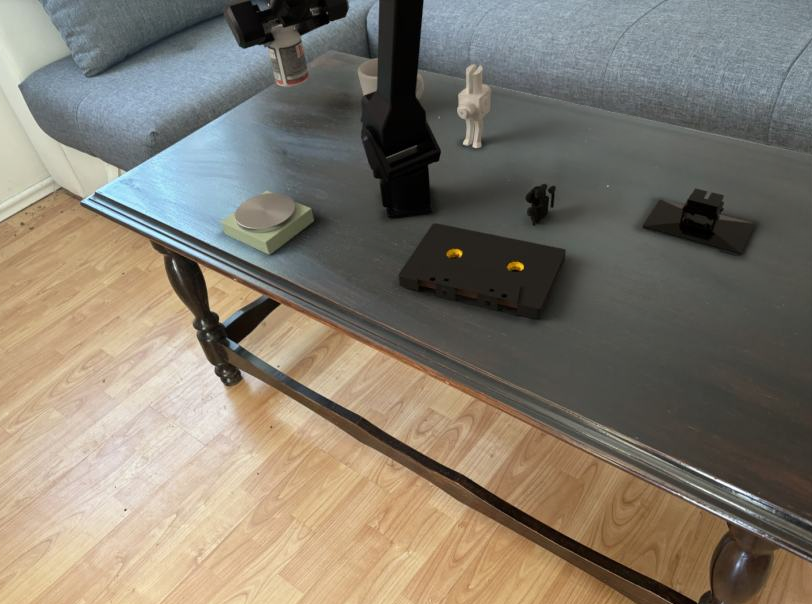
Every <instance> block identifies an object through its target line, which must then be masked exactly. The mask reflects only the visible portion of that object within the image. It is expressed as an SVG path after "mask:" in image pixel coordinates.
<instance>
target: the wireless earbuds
mask: <svg viewBox="0 0 812 604" xmlns="http://www.w3.org/2000/svg"><path fill="white" fill-rule="evenodd" d="M556 191H557V187H556V185H551V186H549V187H548V184H547V183H542V184H540V185H535V186H534V187H532V189H531V190H529V191H528V193H526V195H525V201H526V202H527V203H528V204H530V205H531V206H528V207H527V210H526V214H527V217H530V221H531V222H532V223H531V226H532V227H536V224H539V223H541V222H542V221H543V219H545V218H546V216H548V213H549V206H550V208H551V209H554V208H555V198H556V197H555V196H556V194H555V193H556ZM547 192H548V193H549V194H550V196H548V195H547Z"/></svg>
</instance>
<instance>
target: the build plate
mask: <svg viewBox="0 0 812 604" xmlns="http://www.w3.org/2000/svg"><path fill="white" fill-rule="evenodd" d="M707 194H708V190H705V189H700V188H694V189H693V191H692V193H691V194H690V195H689V196H688V198H687V199H686V202H684V204H680V203H676V202H673V201H670V200H666V199H659V200H658V201H657V202H656V204H655V205H654V207H653V208H652V210H651V212H650V213H649V215H648V216H647V218H646V219H645V221H644V223H643V224H642V226H641V228H642V229H643V230H647V231H650V232H654V233H657V234H661V235H664V236H668V237H672V238H675V239H679V240H683V241H686V242H690V243H693V244H696V245H700V246H703V247H707V248H711V249H715V250H718V251H719V252H721V253H725V254H727V255H732V256H741V255H742V253H743V251H744V249H745V247H746V244H747V242H748V241H749V238H750V236H751V234H752V231H753V229H754V227H755V225H756V224H755V223H754V222H751V221H748V220H744V219H739V218H736V217H731V216H728V215H724V214H722V212H724V210H725V207H724V206H725V201H723V200H724V197H725V195H724V194H720V193H716V192H711V193H710V195H709V197H708V198H705V197H706V196H707Z"/></svg>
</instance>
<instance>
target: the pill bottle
mask: <svg viewBox="0 0 812 604" xmlns="http://www.w3.org/2000/svg"><path fill="white" fill-rule="evenodd" d="M271 33H272V35H273V37H274V39H275V41H274V42H272V43H271V44H270V45H269V46H268V47H267V51H268V54H269V55H268V56H269V59H270V63H271V67H272V72H273V76H274V80H275V83H276V84H277V85H278V86H279V87H282V88H295V87H299V86H301V85H304V84H305V83H307V81H308V80H309V77H310V75H309V70H308V67H307V66H308V65H307V60H306V55H305V50H304V46H303V41H302V36H300V34H299V33H298V32H297V31H296V30H295V25H292V26H289V27H285V28H283V26H282V24H281V25H278V26H274V27H272V30H271Z"/></svg>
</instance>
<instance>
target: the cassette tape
mask: <svg viewBox="0 0 812 604" xmlns="http://www.w3.org/2000/svg"><path fill="white" fill-rule="evenodd" d="M566 253H567V250H566V249H565V248H561V247H556V246H551V245H546V244H543V243H542V244H541V243H537V242H531V241H526V240H521V239H516V238H511V237H506V236H502V235H497V234H491V233H486V232H482V231H476V230H471V229H467V228H461V227H457V226H452V225H446V224H441V223H436V222H434V223H432V224H431V225H430V227H429V229H428V230H427V232H426V233H425V234H424V236H423V238H422V239H421V240H420V241H419V243H418V244H417V246H416V248H415V249H414V251H413V252H412V253H411V255H410V256H409V258H408V259H407V261H406V263H405V264H404V266H402V268H401V270H400V272H399V273H398V283H399V286H400V287H403V288H407V289H411V290H415V291H418V293H420V294H424V295H429V296H433V297H437V298H441V299H445V300H449V301H453V302H456V303H462V304H466V305H470V306H473V307H474V306H475V307H479V308H483V309H488V310H491V311H496V312H499V313H503V314H508V315H511V316H517V315H520V316H523V317H528V318H532V319H536V320H538V319H540V318H541V316H542V314H543V311H544V309H545V308H546V305H547V302H548V300H549V298H550V296H551V293H552V291H553V289H554V287H555V284H556V283H557V279H558V277H559V275H560V273H561V270H562V268H563V266H564V263H565V260H566ZM433 291H434V292H435V294H434V293H432V292H433ZM446 293H447V294H446ZM502 308H505V309H506V310H502Z"/></svg>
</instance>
